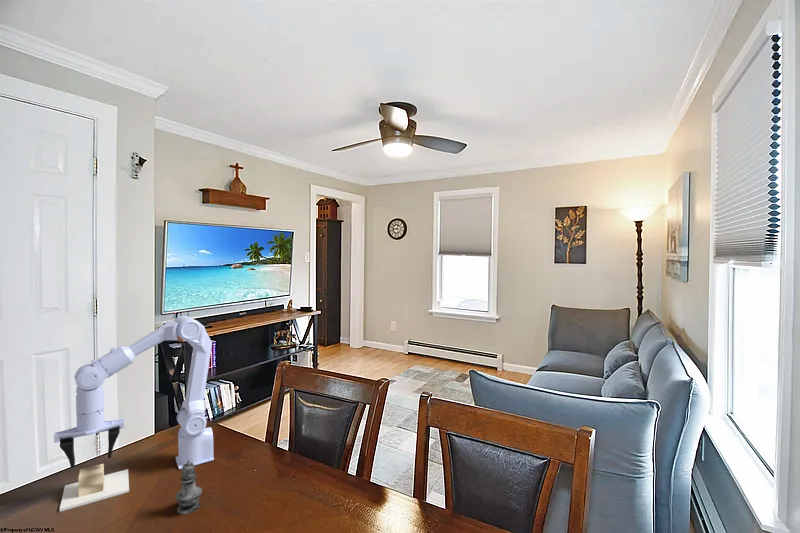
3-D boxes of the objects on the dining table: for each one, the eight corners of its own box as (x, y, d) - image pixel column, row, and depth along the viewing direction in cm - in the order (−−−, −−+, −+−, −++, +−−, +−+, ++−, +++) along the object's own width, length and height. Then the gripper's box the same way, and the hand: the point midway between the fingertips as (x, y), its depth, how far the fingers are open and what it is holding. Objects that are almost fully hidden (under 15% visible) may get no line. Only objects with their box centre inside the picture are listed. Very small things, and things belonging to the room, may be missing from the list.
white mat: (128, 471, 114) (128, 469, 114) (129, 491, 104) (129, 489, 104) (64, 487, 106) (64, 485, 106) (59, 511, 96) (59, 509, 96)
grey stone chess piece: (190, 516, 95) (190, 467, 94) (169, 513, 96) (168, 464, 95) (207, 501, 100) (206, 455, 100) (187, 498, 102) (186, 452, 101)
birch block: (104, 481, 108) (103, 463, 107) (103, 490, 104) (102, 472, 103) (80, 487, 105) (80, 469, 105) (78, 497, 101) (78, 478, 101)
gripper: (51, 422, 96) (53, 476, 97) (124, 409, 105) (125, 459, 105) (55, 413, 102) (56, 464, 102) (123, 400, 110) (124, 448, 111)
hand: (91, 460), depth 104 cm, fingers open, 7 cm apart
